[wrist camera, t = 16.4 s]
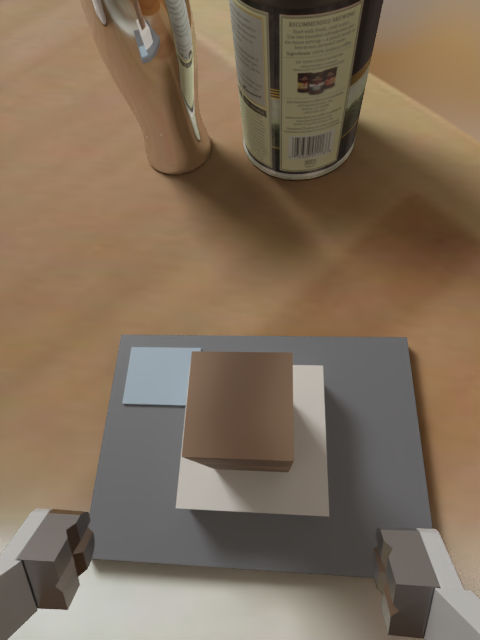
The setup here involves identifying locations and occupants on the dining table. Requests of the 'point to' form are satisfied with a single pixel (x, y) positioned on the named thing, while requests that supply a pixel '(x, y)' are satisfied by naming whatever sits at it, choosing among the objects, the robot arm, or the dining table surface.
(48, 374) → the dining table surface
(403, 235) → the dining table surface
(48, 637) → the dining table surface
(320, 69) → the coffee can
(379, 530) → the robot arm
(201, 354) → the walnut column
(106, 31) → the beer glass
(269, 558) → the build base
